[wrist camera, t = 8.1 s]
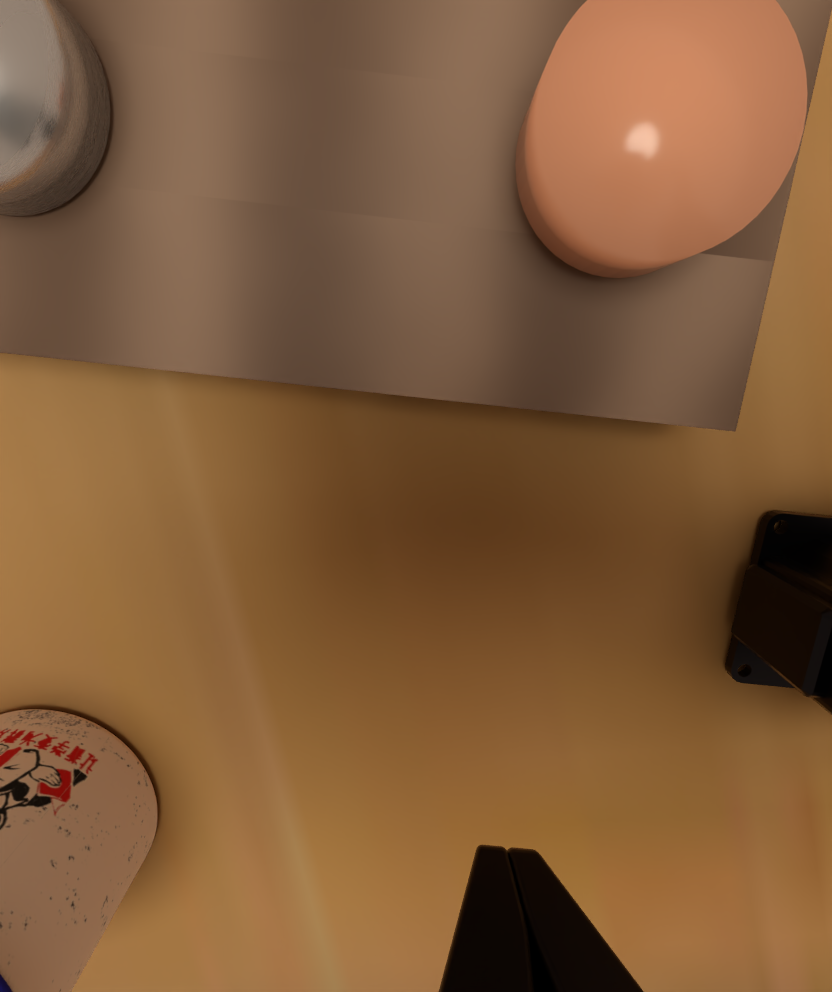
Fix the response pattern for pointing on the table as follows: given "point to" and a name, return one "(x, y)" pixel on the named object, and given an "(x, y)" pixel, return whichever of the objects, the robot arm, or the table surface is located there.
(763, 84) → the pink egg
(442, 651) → the table surface
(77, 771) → the teacup with lid
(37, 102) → the grey plunger
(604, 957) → the robot arm
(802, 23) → the press block
